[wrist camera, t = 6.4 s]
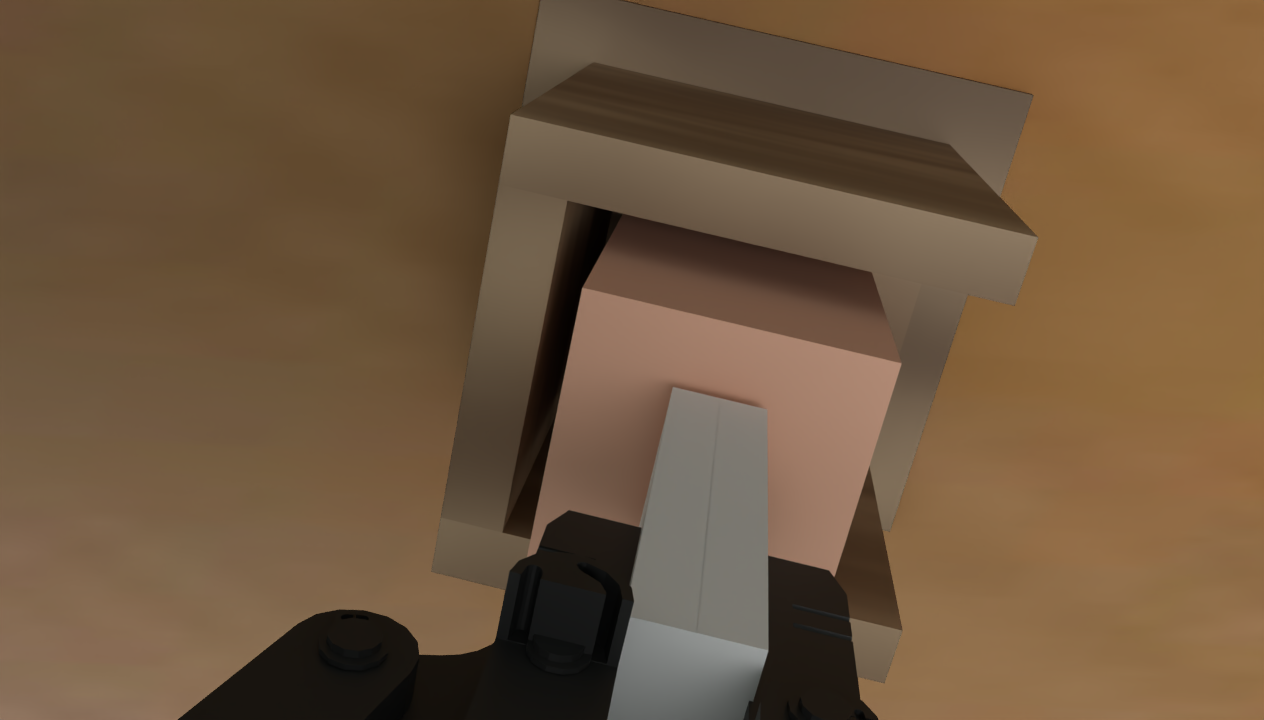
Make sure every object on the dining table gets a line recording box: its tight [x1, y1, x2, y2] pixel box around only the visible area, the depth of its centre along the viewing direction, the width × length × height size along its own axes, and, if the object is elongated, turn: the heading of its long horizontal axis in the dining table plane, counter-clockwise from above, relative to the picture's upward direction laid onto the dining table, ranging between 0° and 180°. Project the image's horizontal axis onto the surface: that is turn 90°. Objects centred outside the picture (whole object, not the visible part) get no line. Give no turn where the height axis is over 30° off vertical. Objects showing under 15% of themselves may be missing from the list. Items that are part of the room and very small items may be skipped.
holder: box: [431, 0, 1038, 683], centre depth 26 cm, size 12×12×10 cm
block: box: [527, 214, 902, 577], centre depth 24 cm, size 5×5×12 cm
